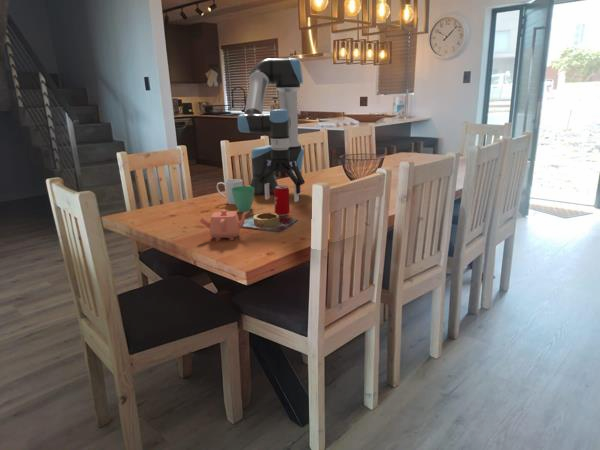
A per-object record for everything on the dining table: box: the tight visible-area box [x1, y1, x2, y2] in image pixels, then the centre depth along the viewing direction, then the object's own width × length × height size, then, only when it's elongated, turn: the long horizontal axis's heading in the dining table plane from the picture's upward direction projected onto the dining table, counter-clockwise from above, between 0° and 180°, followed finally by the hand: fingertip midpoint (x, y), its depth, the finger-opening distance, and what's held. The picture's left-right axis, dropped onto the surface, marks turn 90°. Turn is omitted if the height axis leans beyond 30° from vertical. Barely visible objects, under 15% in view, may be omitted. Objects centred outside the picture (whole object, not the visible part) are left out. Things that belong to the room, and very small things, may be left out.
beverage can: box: [273, 185, 291, 217], centre depth 184 cm, size 6×6×12 cm
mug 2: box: [232, 185, 255, 213], centre depth 193 cm, size 15×10×10 cm
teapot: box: [199, 209, 251, 242], centre depth 157 cm, size 14×12×10 cm
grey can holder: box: [241, 212, 299, 233], centre depth 173 cm, size 16×20×3 cm
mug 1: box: [216, 178, 244, 205], centre depth 205 cm, size 12×8×10 cm, turn 91°
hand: (281, 200), depth 184 cm, fingers open, 13 cm apart
